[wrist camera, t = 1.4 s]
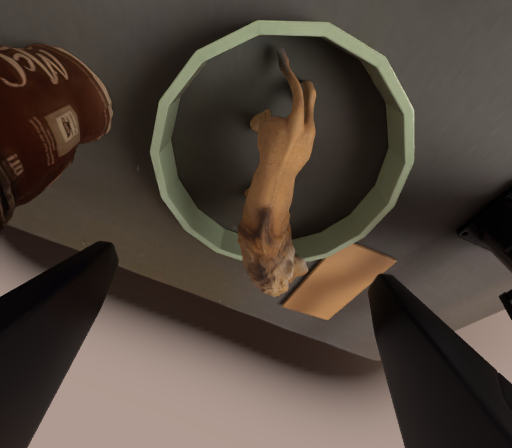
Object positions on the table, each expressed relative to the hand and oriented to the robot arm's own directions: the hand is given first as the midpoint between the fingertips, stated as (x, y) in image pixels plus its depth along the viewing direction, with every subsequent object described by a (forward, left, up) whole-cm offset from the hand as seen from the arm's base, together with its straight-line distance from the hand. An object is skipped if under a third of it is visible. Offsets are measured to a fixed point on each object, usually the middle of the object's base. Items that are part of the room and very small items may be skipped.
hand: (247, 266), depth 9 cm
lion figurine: (-2, +2, -14) cm, 14 cm away
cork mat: (-15, +13, -14) cm, 24 cm away
